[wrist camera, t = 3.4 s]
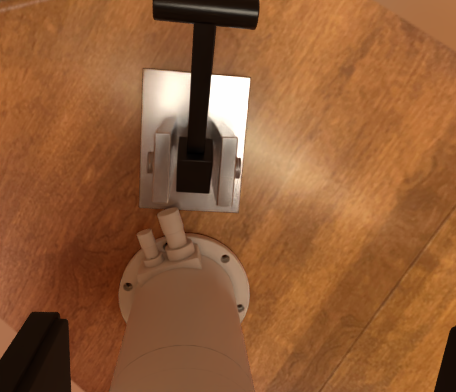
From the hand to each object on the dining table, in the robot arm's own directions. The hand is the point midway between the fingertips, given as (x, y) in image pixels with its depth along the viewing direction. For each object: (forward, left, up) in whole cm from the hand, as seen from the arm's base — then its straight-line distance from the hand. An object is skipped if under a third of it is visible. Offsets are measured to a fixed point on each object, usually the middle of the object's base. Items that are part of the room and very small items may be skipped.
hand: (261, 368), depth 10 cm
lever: (-6, +1, -17) cm, 18 cm away
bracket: (-2, -1, -30) cm, 30 cm away
